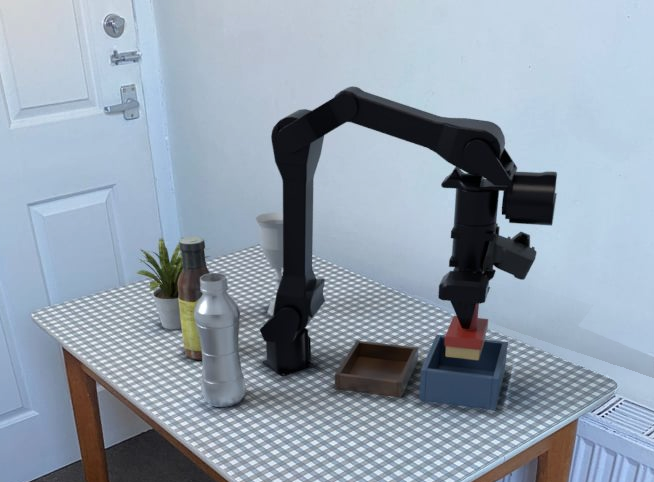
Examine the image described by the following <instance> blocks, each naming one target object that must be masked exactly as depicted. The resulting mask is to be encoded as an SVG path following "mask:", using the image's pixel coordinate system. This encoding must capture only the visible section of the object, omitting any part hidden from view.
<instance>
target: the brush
mask: <svg viewBox="0 0 654 482" xmlns="http://www.w3.org/2000/svg"><path fill="white" fill-rule="evenodd" d="M479 307H480V304H478V303H477V304H476V308H475V311H474V315H473V318H472V322H471V325H470V328H469V329H462V327H461V325H460V323H459V320H458V318H457V315H453V316H452V319H451V320H450V323H449V326H448V329H447V331H446V333H445V335H446V336H445V346H446V357H453V358H462V359H471V360H479V357H480V354H481V351H482V348H483V345H484V341H485V340H486V336H487V335H486V334H487V331H488V328H489V319H488V318H483V317H479Z"/></svg>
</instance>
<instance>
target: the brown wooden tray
mask: <svg viewBox="0 0 654 482" xmlns="http://www.w3.org/2000/svg"><path fill="white" fill-rule="evenodd" d="M418 363H419V347H417V346H409V345H408V346H407V345H400V344H392V343H391V344H390V343H382V342H372V341H364V340H355V342H354V344H353V345H352V347H351V348H350V349H349V352H348V353H347V354H346V355H345V358H344V359H343V361H342V363H341V364H340V366H339V367H338V369H337V370H336V372H335V374H334V390H338V391H345V392H354V393H361V394H369V395H377V396H384V397H392V398H400V399H402V398H403V396H404V393H405V391H406V388H407V387H408V384H409V382H410V380H411V378H412V375H413V373H414V371H415V369H416V367H417V366H418V365H417V364H418Z"/></svg>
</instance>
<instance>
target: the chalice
mask: <svg viewBox="0 0 654 482" xmlns="http://www.w3.org/2000/svg"><path fill="white" fill-rule="evenodd" d="M255 220H256V222H257V224H258V228H259V229H258V231H259V232H258V233H259V245H260V248H261V250H262V253H263V255H264V257H265V259H266V261H267V262H268V264H269V266H270V267H271V268H273V269H275V276H274V279H275V281H276V285H275V286H274V289H275V290H276V292H277V291H278V288H279V284H280V281H281V278H282V275H283V273H282V270H283V211H282V212H281V211H280V212H278V211H277V212H265V213H262V214H259V215H257V216H256V217H255ZM275 299H276V297H274V298H272V300H271V301H270V304H269V306H268V309H267V315H269V316H270V317H271V316H272V315H273V311H274V305H275Z"/></svg>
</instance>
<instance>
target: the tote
mask: <svg viewBox="0 0 654 482" xmlns="http://www.w3.org/2000/svg"><path fill="white" fill-rule="evenodd" d="M445 336H446V334H436V335H435V337H434V339H433V342H432V344H431V346H430V349H429V350H428V353H427V355H426V357H425V360H424V362H423V364H422V366H421V369H420V381H419V382H420V383H419V387H420V388H419V401H420V402H426V403H427V402H428V403H435V404H443V405H448V406H457V407H466V408H472V409H479V410H480V409H481V410H489V411H497V405H498V401H499V397H500V393H501V390H502V385H503V382H504V376H505V373H506V366H507V365H506V364H507V356H508V355H507V354H508V346H509V341H503V340H494V339H485V341H484V345H483V348H482V351H481V354H480V357H479V360H471V359H462V358H453V357H446V346H445Z"/></svg>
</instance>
